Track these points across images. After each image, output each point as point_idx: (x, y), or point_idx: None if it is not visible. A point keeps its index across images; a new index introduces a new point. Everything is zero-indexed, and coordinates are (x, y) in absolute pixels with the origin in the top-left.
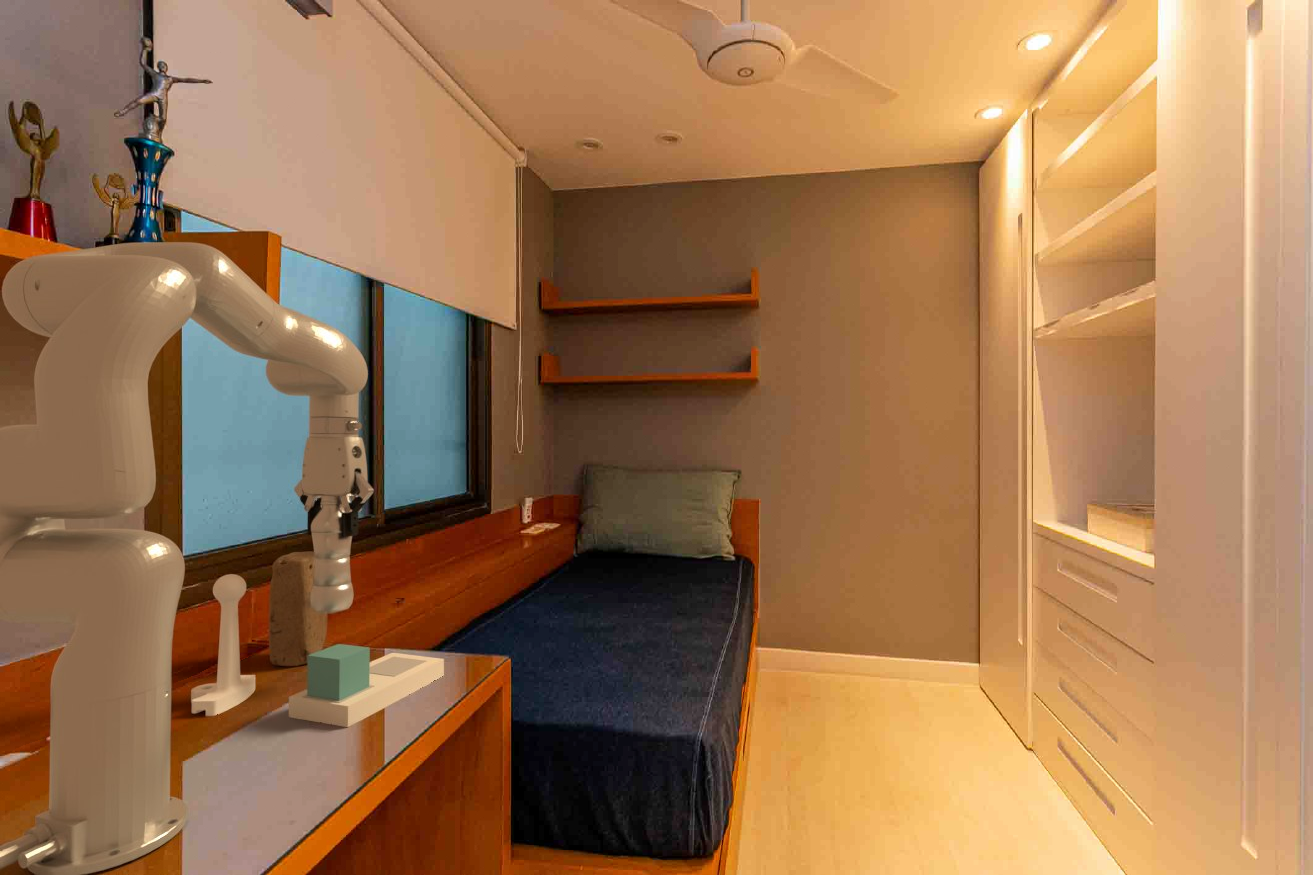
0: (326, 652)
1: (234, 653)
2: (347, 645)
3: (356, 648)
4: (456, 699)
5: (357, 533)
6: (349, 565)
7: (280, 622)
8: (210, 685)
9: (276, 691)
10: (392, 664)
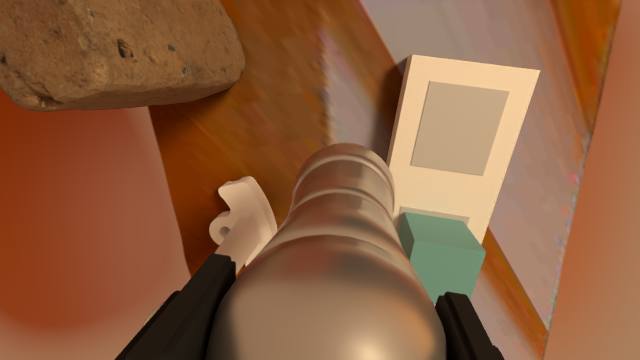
0: (422, 282)
1: (243, 253)
2: (437, 247)
3: (463, 259)
4: (579, 165)
5: (464, 297)
6: (389, 211)
7: (174, 101)
8: (222, 224)
9: (288, 180)
10: (450, 124)
